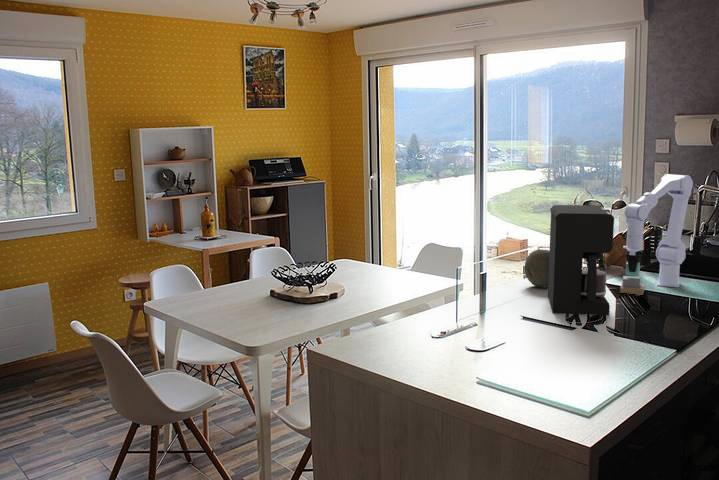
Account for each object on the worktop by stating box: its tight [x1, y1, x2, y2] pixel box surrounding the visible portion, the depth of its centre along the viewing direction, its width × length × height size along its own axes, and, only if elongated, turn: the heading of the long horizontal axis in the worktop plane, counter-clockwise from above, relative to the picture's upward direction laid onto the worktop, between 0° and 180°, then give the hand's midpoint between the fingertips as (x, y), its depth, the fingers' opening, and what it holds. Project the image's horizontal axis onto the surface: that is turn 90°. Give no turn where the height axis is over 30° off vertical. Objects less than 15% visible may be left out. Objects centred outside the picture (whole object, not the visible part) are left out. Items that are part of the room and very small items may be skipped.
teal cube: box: [625, 260, 641, 277], centre depth 260 cm, size 4×4×4 cm
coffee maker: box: [547, 204, 615, 316], centre depth 239 cm, size 28×20×35 cm
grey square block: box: [622, 275, 641, 288], centre depth 262 cm, size 6×6×3 cm
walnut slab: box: [619, 282, 645, 296], centre depth 262 cm, size 8×8×3 cm
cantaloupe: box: [524, 249, 550, 289], centre depth 271 cm, size 14×14×15 cm
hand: (632, 270), depth 260 cm, fingers closed on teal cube, 4 cm apart
